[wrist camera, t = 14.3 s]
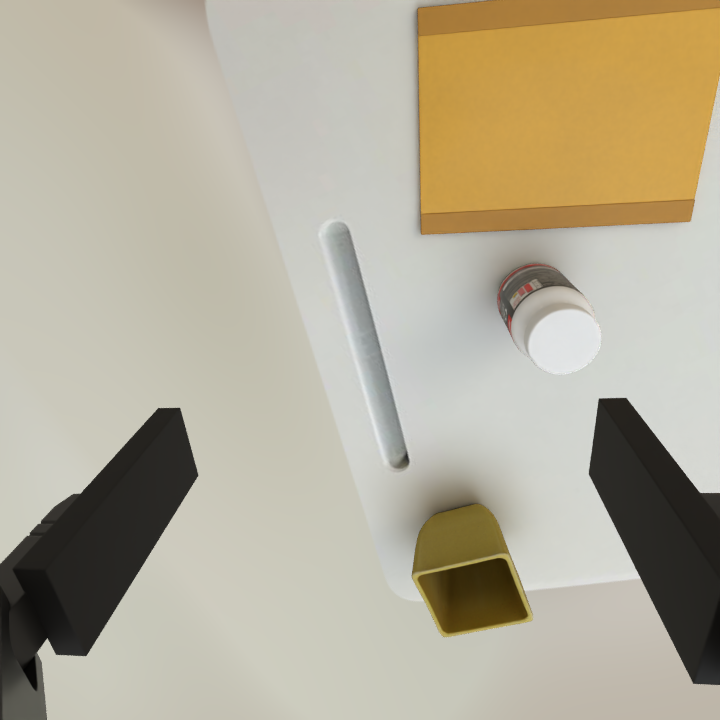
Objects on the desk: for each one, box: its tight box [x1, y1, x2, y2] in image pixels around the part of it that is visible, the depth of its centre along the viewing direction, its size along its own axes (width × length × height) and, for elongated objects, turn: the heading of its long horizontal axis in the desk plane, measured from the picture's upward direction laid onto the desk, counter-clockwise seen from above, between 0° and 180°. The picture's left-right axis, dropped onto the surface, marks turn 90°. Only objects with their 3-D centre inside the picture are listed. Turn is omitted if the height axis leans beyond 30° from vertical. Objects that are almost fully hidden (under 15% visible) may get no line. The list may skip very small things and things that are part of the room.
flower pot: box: [412, 504, 533, 637], centre depth 48 cm, size 9×9×9 cm
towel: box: [418, 0, 720, 235], centre depth 35 cm, size 15×20×1 cm
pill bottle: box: [497, 264, 602, 374], centre depth 37 cm, size 6×6×10 cm
